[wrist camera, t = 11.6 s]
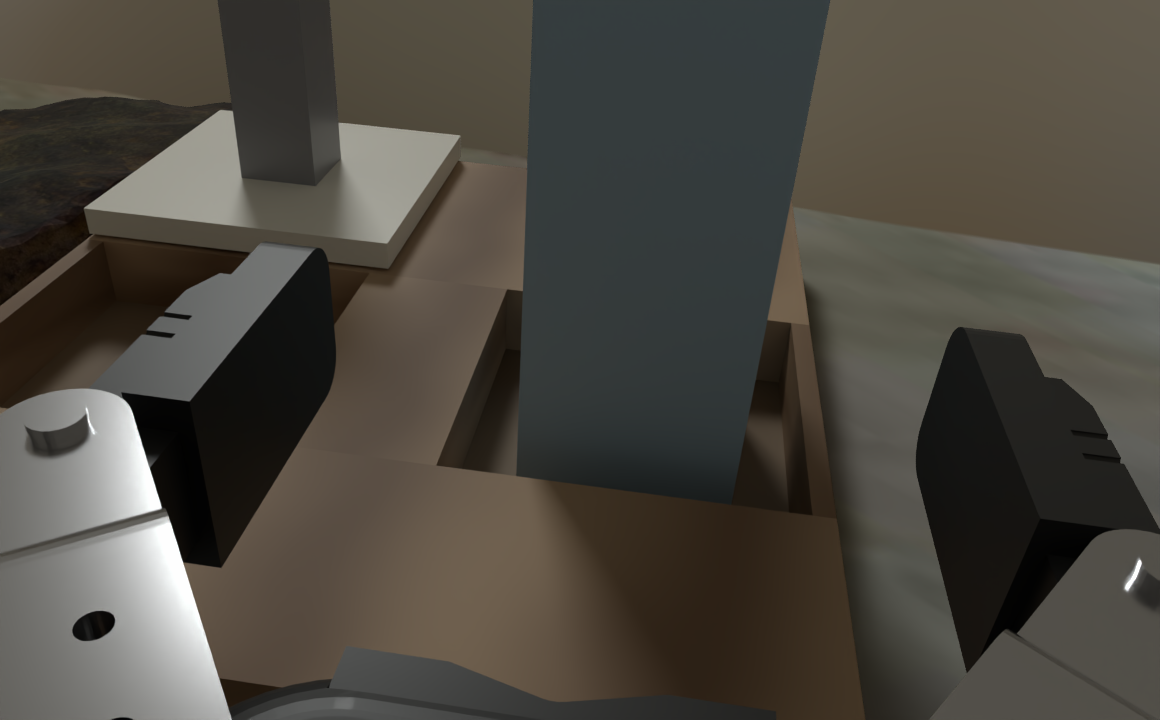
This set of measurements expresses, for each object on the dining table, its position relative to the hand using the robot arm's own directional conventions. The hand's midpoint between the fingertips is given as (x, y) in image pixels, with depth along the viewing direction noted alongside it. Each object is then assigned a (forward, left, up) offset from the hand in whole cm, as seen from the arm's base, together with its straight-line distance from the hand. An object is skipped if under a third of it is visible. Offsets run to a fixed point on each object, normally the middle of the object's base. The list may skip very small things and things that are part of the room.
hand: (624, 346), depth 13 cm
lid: (-12, +18, -7) cm, 22 cm away
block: (0, +9, -9) cm, 13 cm away
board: (-6, +11, -9) cm, 15 cm away
